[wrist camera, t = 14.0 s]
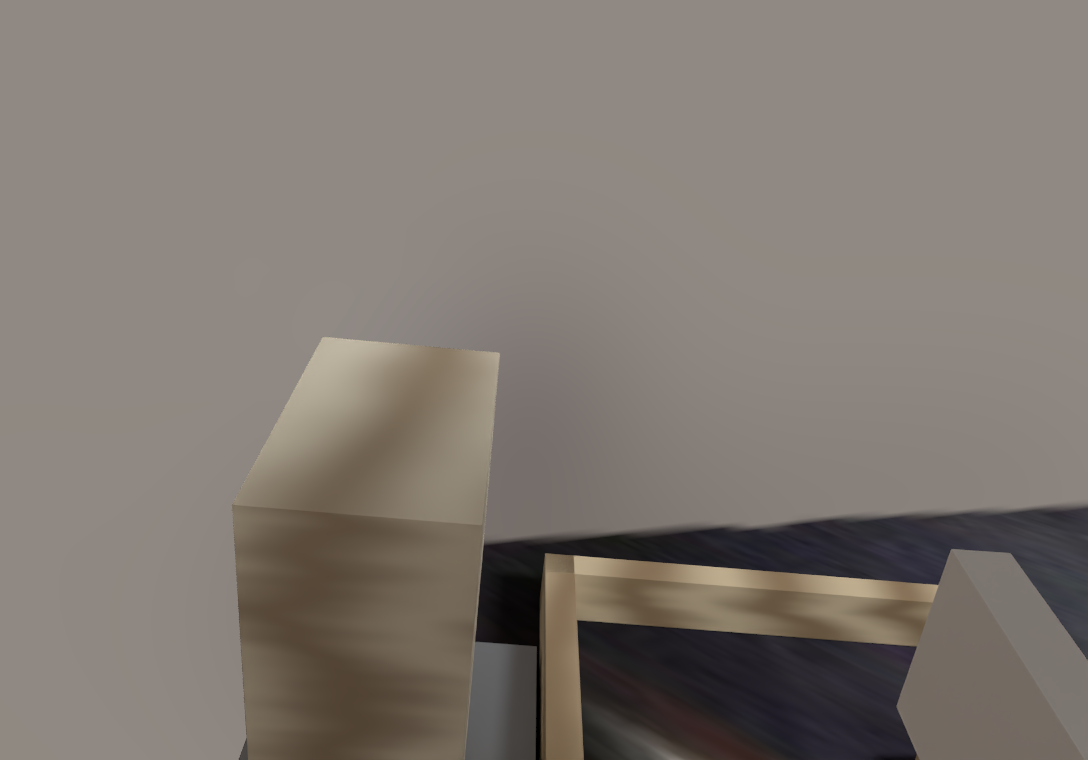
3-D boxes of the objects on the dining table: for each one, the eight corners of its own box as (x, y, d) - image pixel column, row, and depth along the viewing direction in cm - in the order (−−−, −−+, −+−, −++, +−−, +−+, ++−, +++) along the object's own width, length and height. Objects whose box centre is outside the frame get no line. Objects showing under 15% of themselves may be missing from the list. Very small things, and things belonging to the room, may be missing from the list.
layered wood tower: (466, 732, 39) (500, 353, 31) (444, 973, 30) (482, 525, 22) (326, 722, 39) (322, 336, 31) (260, 962, 30) (231, 504, 22)
